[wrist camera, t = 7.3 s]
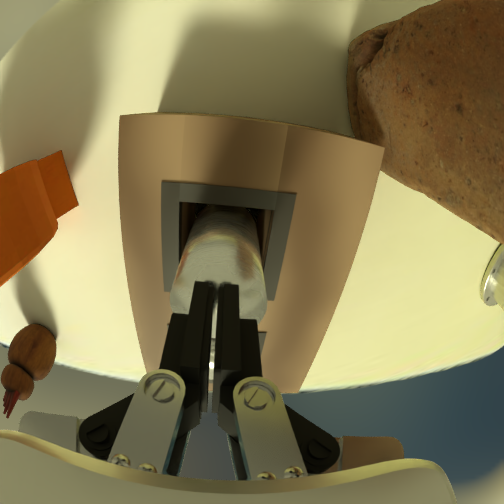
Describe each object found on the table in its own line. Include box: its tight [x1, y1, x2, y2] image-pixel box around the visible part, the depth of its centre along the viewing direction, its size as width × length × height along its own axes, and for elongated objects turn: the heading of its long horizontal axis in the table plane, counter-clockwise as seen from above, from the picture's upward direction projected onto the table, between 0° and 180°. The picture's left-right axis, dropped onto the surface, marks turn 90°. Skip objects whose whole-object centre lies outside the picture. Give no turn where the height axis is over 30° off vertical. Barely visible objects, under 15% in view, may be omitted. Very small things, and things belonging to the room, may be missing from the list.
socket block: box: [118, 112, 385, 393], centre depth 20 cm, size 14×22×7 cm, turn 173°
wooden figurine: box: [1, 324, 56, 418], centre depth 22 cm, size 7×6×15 cm
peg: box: [170, 204, 267, 338], centre depth 14 cm, size 4×4×7 cm
